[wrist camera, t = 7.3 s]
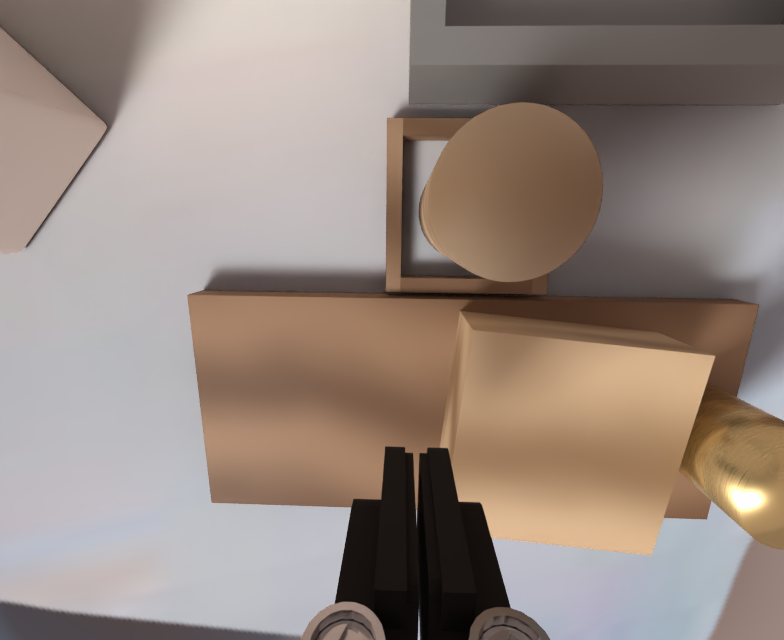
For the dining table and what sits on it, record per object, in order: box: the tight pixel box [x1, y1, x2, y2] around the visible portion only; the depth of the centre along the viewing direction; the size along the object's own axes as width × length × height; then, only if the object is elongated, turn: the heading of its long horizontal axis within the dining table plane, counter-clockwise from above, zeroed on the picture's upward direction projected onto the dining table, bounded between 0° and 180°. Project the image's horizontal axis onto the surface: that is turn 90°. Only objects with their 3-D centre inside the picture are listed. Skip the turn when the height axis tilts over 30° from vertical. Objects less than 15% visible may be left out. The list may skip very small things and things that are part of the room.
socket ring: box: [386, 118, 549, 295], centre depth 15 cm, size 7×7×1 cm
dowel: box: [419, 102, 603, 282], centre depth 12 cm, size 4×4×7 cm
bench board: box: [187, 290, 759, 519], centre depth 17 cm, size 10×23×1 cm, turn 89°
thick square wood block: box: [440, 311, 715, 555], centre depth 15 cm, size 8×8×3 cm
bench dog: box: [678, 383, 784, 550], centre depth 14 cm, size 4×4×5 cm
